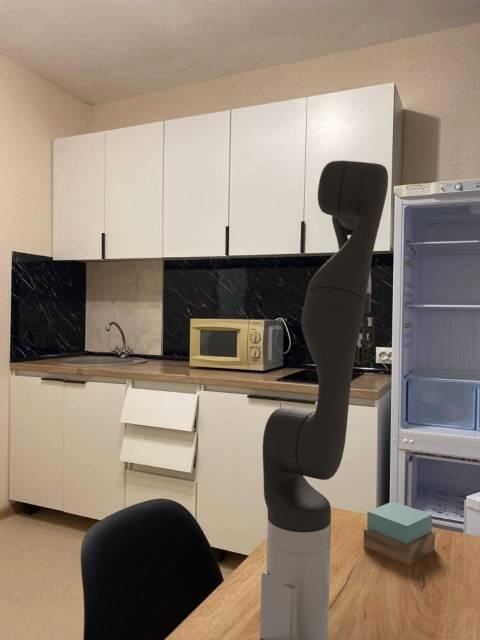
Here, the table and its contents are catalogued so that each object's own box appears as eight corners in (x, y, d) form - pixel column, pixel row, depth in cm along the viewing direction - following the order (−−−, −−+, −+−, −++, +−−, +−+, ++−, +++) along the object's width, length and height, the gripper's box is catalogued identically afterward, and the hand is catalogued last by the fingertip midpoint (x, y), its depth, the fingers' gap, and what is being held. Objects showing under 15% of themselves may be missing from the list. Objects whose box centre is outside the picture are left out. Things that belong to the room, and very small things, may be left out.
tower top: (406, 544, 95) (406, 526, 95) (367, 528, 102) (367, 511, 102) (431, 532, 101) (432, 514, 101) (392, 517, 108) (393, 501, 108)
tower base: (408, 567, 94) (409, 546, 94) (363, 548, 102) (363, 529, 102) (434, 551, 101) (434, 532, 101) (390, 534, 109) (390, 516, 109)
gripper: (386, 291, 109) (384, 365, 109) (352, 293, 123) (351, 359, 123) (355, 289, 107) (354, 366, 107) (324, 292, 120) (323, 359, 120)
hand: (352, 362), depth 115 cm, fingers open, 8 cm apart
